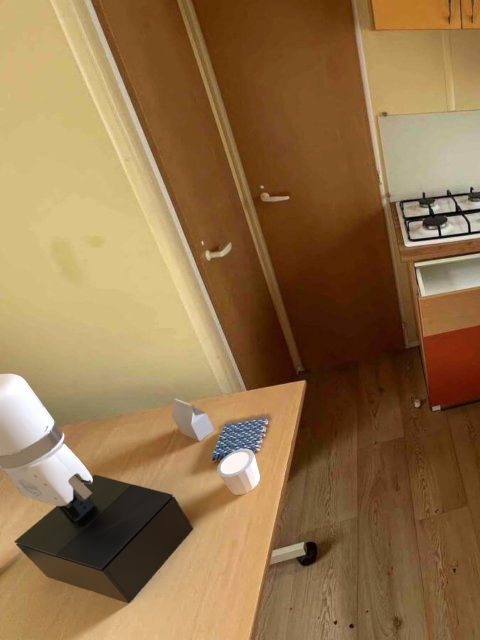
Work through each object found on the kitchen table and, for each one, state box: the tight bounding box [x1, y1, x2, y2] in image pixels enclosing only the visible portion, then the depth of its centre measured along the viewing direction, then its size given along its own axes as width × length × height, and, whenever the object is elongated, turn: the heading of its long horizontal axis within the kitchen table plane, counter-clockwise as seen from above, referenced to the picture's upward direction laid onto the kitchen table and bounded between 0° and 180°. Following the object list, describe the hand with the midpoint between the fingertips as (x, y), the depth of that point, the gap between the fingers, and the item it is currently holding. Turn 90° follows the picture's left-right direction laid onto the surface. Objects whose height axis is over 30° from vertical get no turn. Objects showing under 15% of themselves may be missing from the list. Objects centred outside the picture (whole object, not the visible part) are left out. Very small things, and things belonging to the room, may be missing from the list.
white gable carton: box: [171, 397, 215, 442], centre depth 102 cm, size 4×7×10 cm, turn 69°
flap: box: [14, 473, 133, 556], centre depth 76 cm, size 9×13×1 cm
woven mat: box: [210, 416, 269, 463], centre depth 102 cm, size 10×11×2 cm
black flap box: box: [15, 484, 194, 604], centre depth 78 cm, size 19×13×11 cm
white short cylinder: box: [216, 449, 261, 496], centre depth 91 cm, size 7×7×7 cm
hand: (82, 512), depth 76 cm, fingers closed
